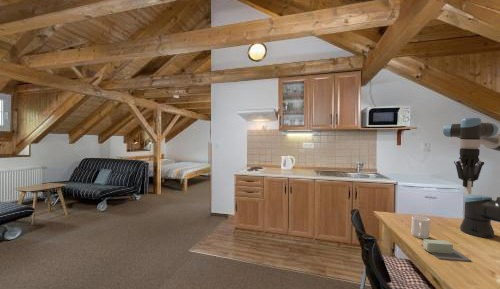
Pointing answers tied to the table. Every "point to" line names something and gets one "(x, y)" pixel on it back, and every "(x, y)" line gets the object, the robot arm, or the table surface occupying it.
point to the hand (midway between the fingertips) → (467, 193)
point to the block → (437, 246)
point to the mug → (420, 227)
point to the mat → (450, 256)
